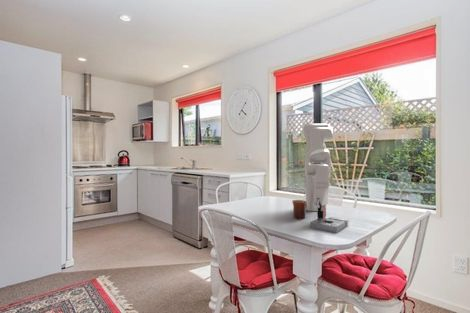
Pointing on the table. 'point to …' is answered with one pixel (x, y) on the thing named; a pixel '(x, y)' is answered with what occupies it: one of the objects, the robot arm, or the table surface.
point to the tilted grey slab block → (340, 220)
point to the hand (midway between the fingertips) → (321, 216)
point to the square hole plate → (328, 224)
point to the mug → (299, 209)
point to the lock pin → (323, 211)
